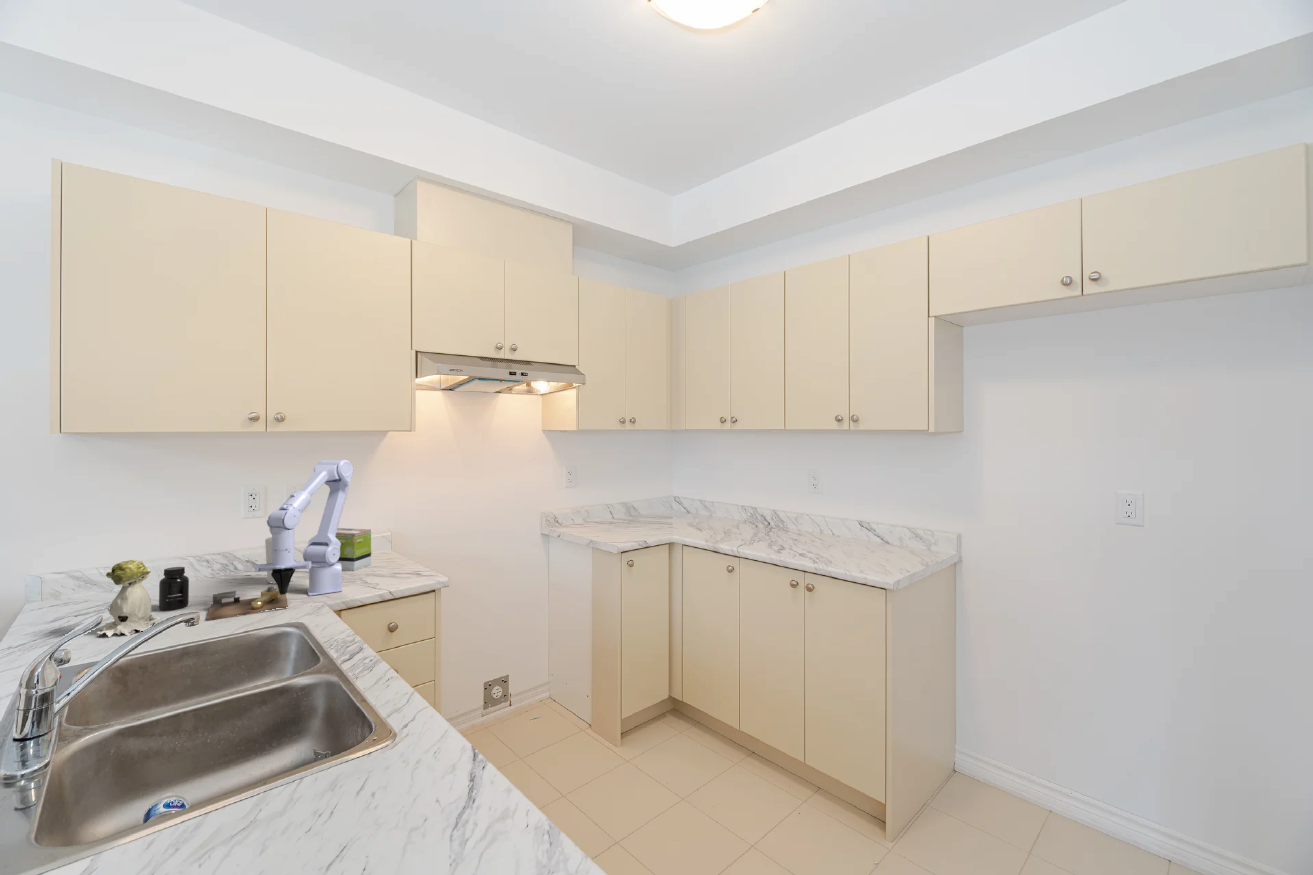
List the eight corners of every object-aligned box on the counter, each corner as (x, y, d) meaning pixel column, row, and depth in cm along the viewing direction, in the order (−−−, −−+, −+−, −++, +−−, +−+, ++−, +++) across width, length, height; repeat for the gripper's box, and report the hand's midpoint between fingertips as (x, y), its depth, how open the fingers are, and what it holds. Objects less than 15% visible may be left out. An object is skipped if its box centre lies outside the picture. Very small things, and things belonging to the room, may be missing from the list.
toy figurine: (160, 618, 161) (160, 553, 161) (158, 630, 151) (157, 561, 151) (102, 627, 153) (101, 559, 153) (95, 640, 143) (94, 568, 143)
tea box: (319, 569, 218) (319, 531, 218) (338, 563, 228) (338, 527, 228) (354, 571, 215) (354, 532, 215) (372, 565, 225) (371, 528, 225)
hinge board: (285, 595, 182) (285, 582, 182) (288, 608, 169) (287, 593, 169) (211, 606, 171) (210, 592, 171) (207, 620, 158) (207, 605, 158)
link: (265, 596, 178) (265, 588, 178) (282, 595, 180) (282, 587, 180) (246, 609, 165) (246, 601, 165) (264, 608, 166) (264, 600, 166)
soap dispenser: (294, 580, 202) (293, 519, 201) (274, 584, 196) (273, 521, 196) (285, 578, 205) (284, 517, 205) (265, 582, 200) (264, 520, 199)
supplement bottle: (171, 612, 166) (171, 571, 166) (152, 610, 168) (152, 570, 168) (194, 605, 173) (194, 566, 173) (176, 603, 174) (176, 565, 174)
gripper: (250, 553, 166) (250, 599, 166) (306, 550, 171) (306, 595, 171) (259, 548, 173) (259, 592, 173) (313, 545, 177) (313, 589, 177)
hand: (283, 593), depth 172 cm, fingers closed
